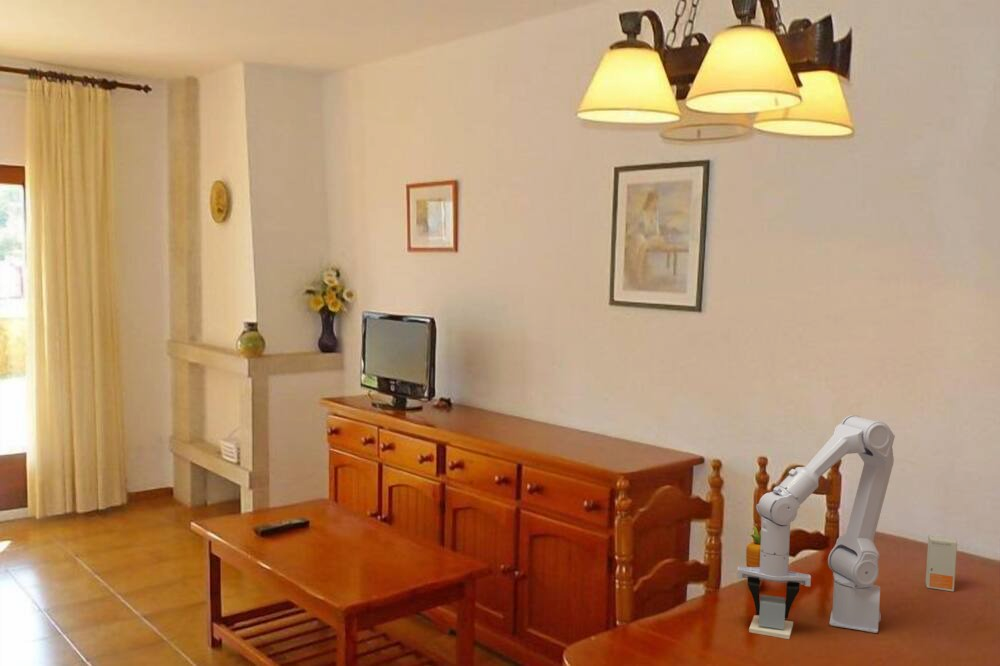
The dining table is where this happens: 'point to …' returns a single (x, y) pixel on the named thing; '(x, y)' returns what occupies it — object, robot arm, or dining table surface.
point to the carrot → (754, 551)
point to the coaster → (771, 629)
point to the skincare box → (941, 563)
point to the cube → (772, 611)
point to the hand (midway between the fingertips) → (771, 615)
